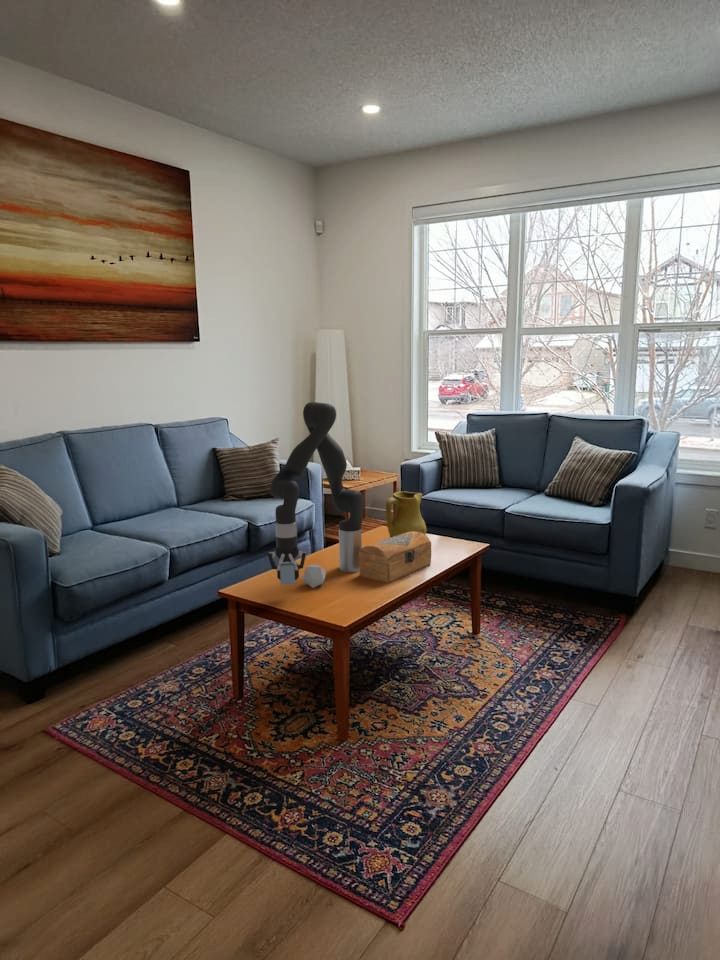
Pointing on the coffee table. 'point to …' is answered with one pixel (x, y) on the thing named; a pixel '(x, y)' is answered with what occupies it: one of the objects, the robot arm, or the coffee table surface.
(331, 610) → the coffee table surface
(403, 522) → the pitcher
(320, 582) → the die
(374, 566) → the wooden box
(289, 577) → the block
